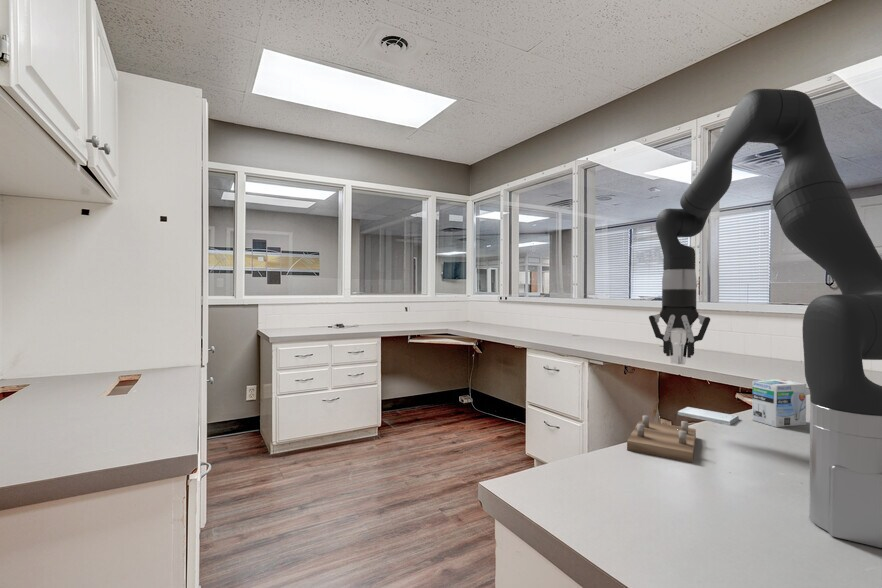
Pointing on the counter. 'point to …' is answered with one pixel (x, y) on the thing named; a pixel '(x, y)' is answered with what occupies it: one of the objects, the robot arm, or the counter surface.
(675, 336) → the milkshake
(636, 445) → the peg plinth
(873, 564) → the counter surface
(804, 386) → the light bulb box
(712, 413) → the hard drive
